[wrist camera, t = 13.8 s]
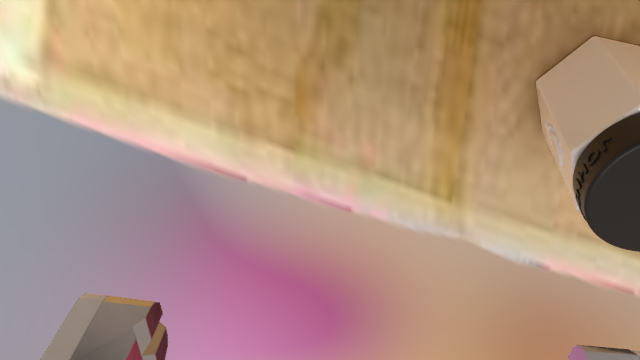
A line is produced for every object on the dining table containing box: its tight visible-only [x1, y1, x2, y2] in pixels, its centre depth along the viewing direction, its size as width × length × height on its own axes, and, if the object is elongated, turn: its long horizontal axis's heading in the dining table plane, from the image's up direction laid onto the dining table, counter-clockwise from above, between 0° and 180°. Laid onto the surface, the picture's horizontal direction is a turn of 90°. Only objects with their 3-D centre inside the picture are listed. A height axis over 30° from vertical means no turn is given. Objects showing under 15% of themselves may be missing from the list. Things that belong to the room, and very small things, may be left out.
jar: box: [536, 36, 640, 252], centre depth 33 cm, size 9×8×12 cm
